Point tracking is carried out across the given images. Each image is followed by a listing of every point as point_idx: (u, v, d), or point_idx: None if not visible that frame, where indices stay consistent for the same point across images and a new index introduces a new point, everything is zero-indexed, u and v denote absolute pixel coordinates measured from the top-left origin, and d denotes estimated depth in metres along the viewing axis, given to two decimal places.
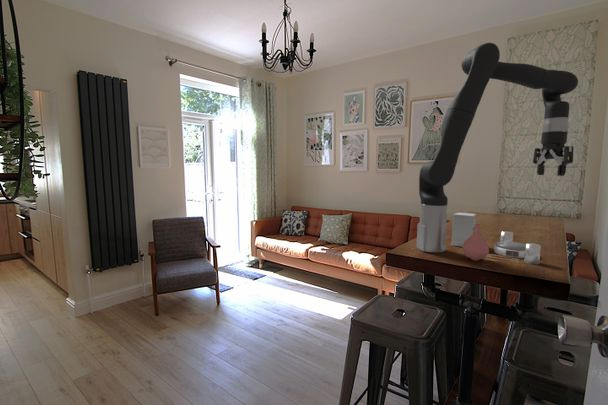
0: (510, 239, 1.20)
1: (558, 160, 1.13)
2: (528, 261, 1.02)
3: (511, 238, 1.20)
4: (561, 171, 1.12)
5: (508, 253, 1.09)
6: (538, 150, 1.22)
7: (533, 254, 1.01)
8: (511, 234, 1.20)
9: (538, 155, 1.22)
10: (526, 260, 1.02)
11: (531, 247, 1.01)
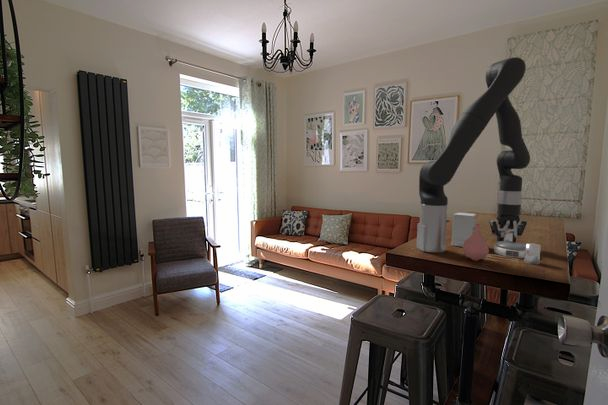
0: (510, 239, 1.20)
1: (515, 232, 1.21)
2: (528, 261, 1.02)
3: (511, 238, 1.20)
4: None
5: (508, 253, 1.09)
6: (495, 222, 1.20)
7: (533, 254, 1.01)
8: (511, 234, 1.20)
9: None
10: (526, 260, 1.02)
11: (531, 247, 1.01)
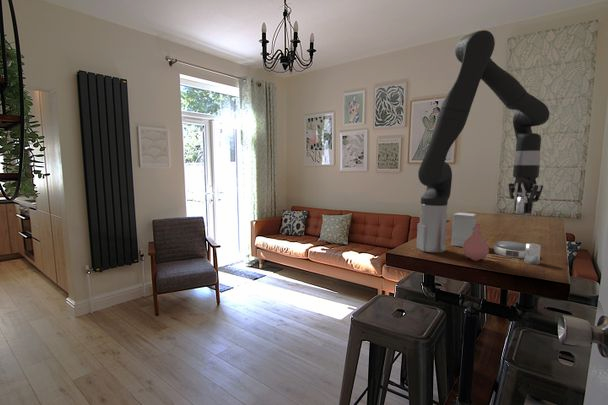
0: None
1: None
2: (528, 261, 1.02)
3: None
4: None
5: (508, 253, 1.09)
6: None
7: (533, 254, 1.01)
8: None
9: None
10: (526, 260, 1.02)
11: (531, 247, 1.01)
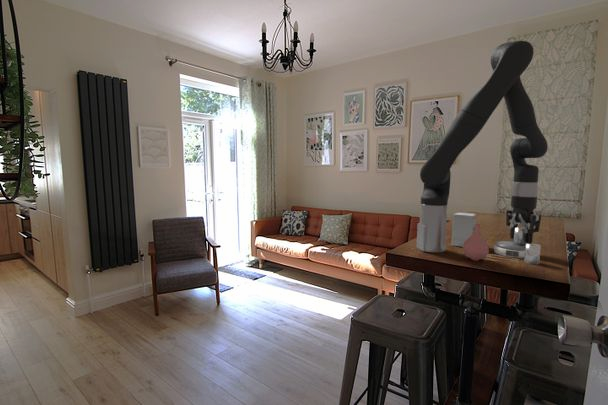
0: None
1: None
2: (528, 261, 1.02)
3: None
4: None
5: (508, 253, 1.09)
6: None
7: (533, 254, 1.01)
8: None
9: None
10: (526, 260, 1.02)
11: (531, 247, 1.01)
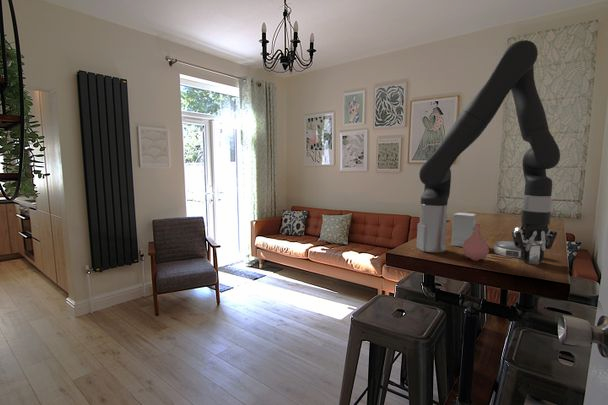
0: None
1: (543, 245, 1.01)
2: (528, 261, 1.02)
3: None
4: (542, 257, 1.02)
5: (508, 253, 1.09)
6: None
7: (533, 254, 1.01)
8: None
9: None
10: None
11: (531, 247, 1.01)
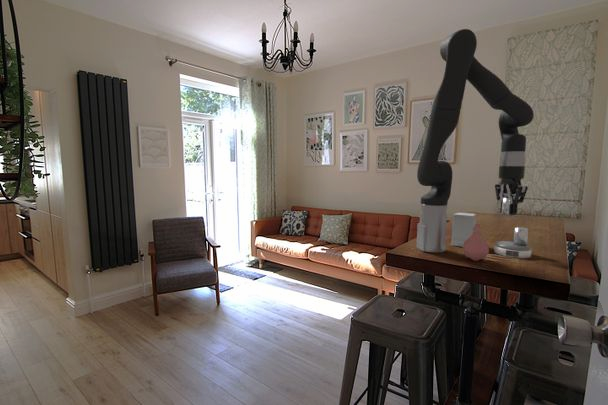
0: None
1: None
2: None
3: None
4: None
5: (508, 253, 1.09)
6: None
7: None
8: None
9: None
10: None
11: None
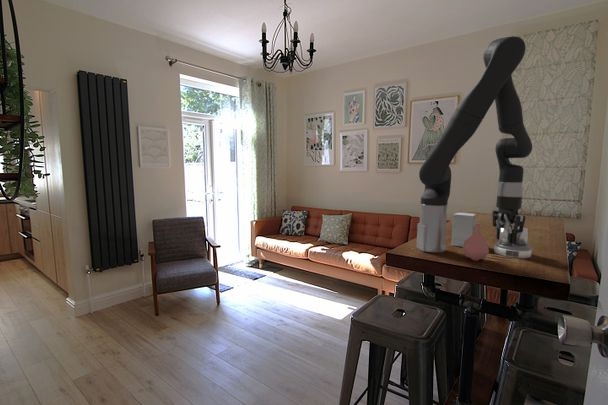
0: None
1: None
2: (511, 244, 1.11)
3: None
4: None
5: (508, 253, 1.09)
6: None
7: None
8: None
9: None
10: None
11: None
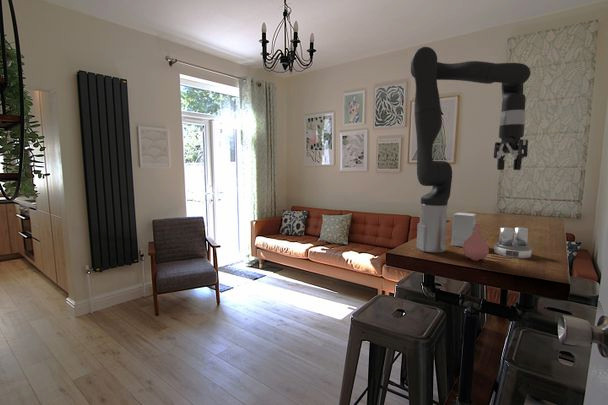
0: None
1: None
2: (511, 244, 1.11)
3: None
4: None
5: (508, 253, 1.09)
6: None
7: (512, 236, 1.11)
8: None
9: None
10: (510, 243, 1.11)
11: None
